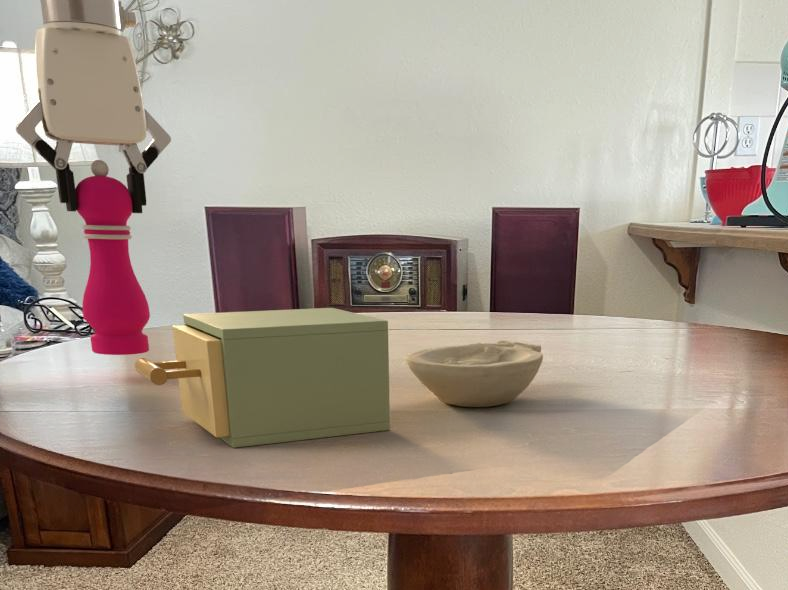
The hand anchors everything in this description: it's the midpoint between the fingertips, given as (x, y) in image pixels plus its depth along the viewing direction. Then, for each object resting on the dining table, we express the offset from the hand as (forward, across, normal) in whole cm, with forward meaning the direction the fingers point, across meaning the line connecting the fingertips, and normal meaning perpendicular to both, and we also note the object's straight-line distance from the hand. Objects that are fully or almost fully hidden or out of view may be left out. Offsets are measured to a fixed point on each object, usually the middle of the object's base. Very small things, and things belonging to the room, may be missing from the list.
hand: (104, 210), depth 97 cm
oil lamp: (+18, -33, +28) cm, 47 cm away
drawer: (+17, -5, +32) cm, 37 cm away
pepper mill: (+15, 0, 0) cm, 15 cm away
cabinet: (+18, -9, +32) cm, 38 cm away
